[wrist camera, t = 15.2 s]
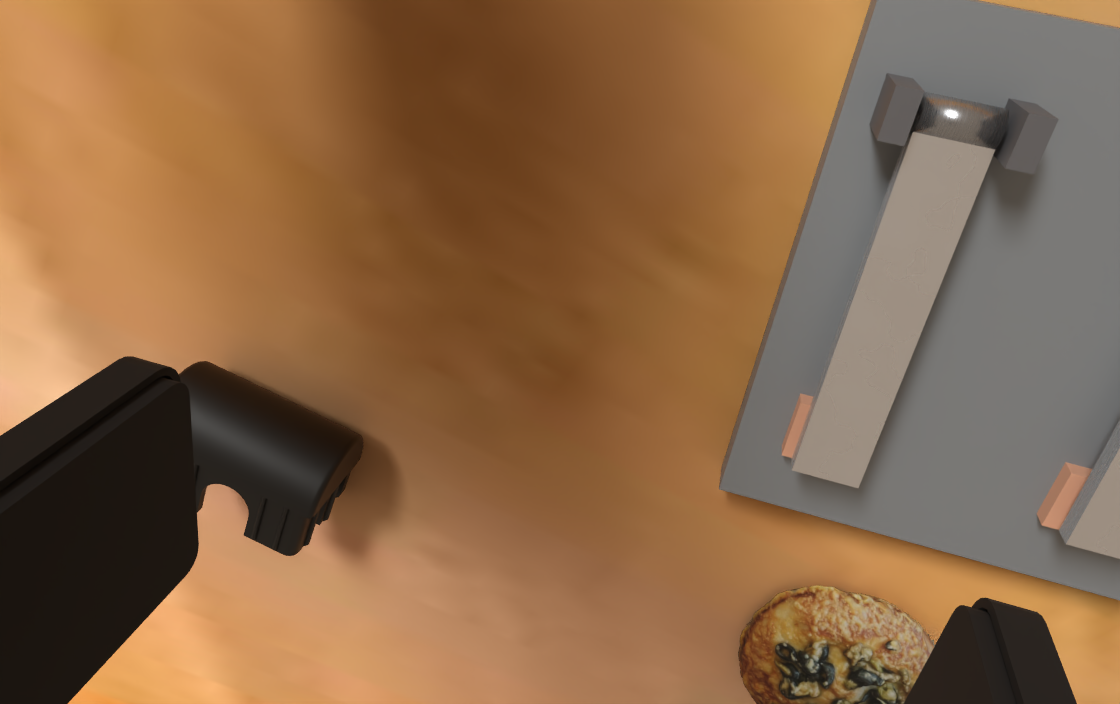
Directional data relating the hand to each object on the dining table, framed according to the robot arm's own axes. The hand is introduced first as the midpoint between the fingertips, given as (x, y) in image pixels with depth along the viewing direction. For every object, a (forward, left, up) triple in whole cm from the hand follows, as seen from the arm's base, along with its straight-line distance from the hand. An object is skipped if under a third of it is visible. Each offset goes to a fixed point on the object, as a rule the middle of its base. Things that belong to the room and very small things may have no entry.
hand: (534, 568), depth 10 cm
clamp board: (+6, +15, -30) cm, 34 cm away
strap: (+6, +9, -27) cm, 29 cm away
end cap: (+23, -20, -31) cm, 43 cm away
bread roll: (+28, +14, -31) cm, 44 cm away
